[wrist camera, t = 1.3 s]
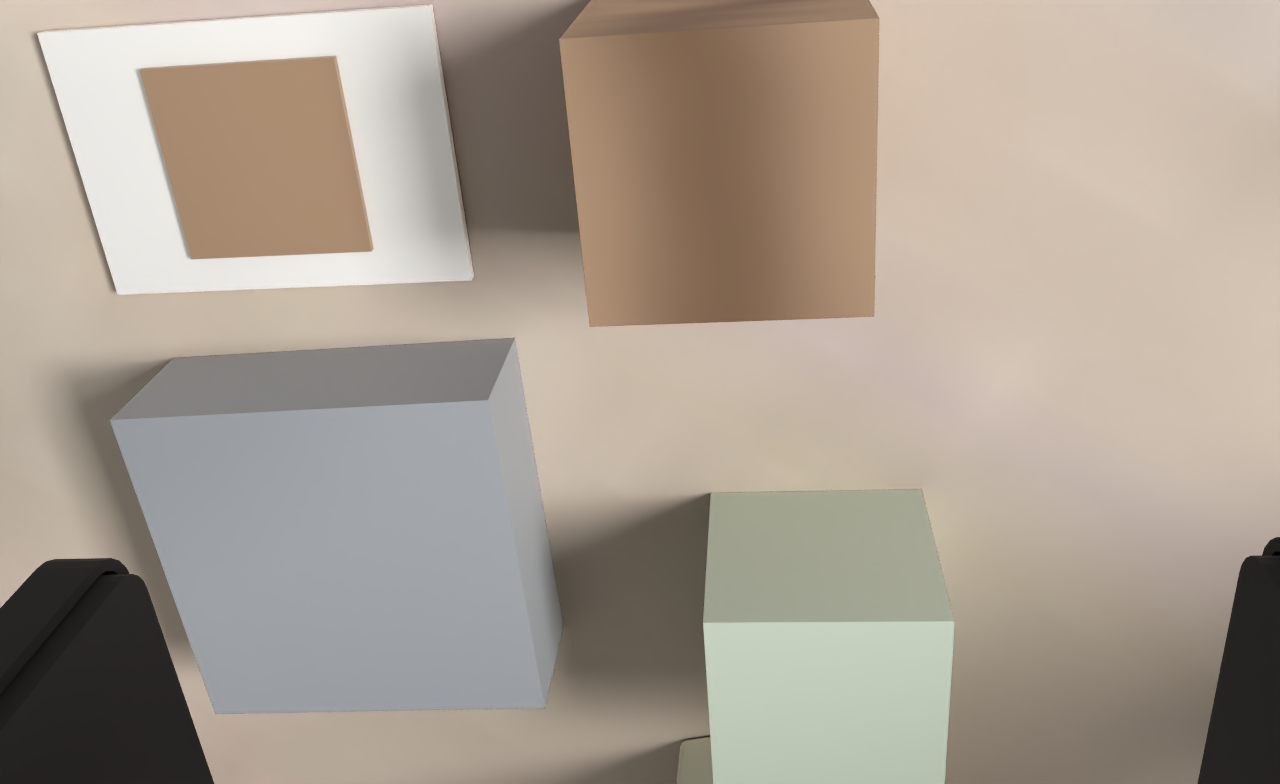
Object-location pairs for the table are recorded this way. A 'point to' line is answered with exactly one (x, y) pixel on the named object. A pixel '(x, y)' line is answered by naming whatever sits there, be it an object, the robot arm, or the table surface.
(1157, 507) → the table surface
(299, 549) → the slate base block
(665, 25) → the walnut cube
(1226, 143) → the table surface
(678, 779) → the skincare box
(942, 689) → the sage cube
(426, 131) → the card
